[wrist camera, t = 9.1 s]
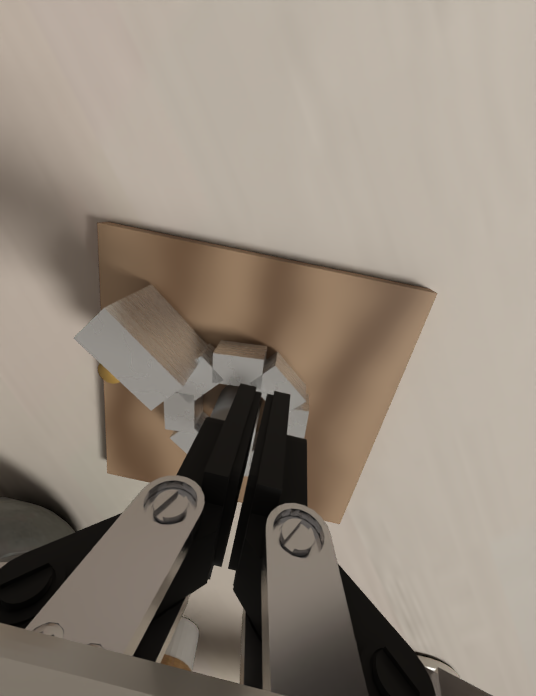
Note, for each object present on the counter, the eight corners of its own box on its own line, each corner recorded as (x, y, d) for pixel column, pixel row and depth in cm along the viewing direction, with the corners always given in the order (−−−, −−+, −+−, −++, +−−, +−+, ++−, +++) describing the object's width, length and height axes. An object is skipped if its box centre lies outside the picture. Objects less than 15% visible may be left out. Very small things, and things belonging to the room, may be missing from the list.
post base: (429, 288, 19) (497, 330, 12) (338, 511, 27) (349, 607, 21) (108, 222, 19) (8, 227, 13) (115, 462, 27) (56, 542, 21)
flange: (189, 248, 18) (151, 261, 13) (332, 416, 21) (341, 471, 17) (94, 338, 21) (37, 373, 16) (234, 472, 24) (219, 532, 20)
